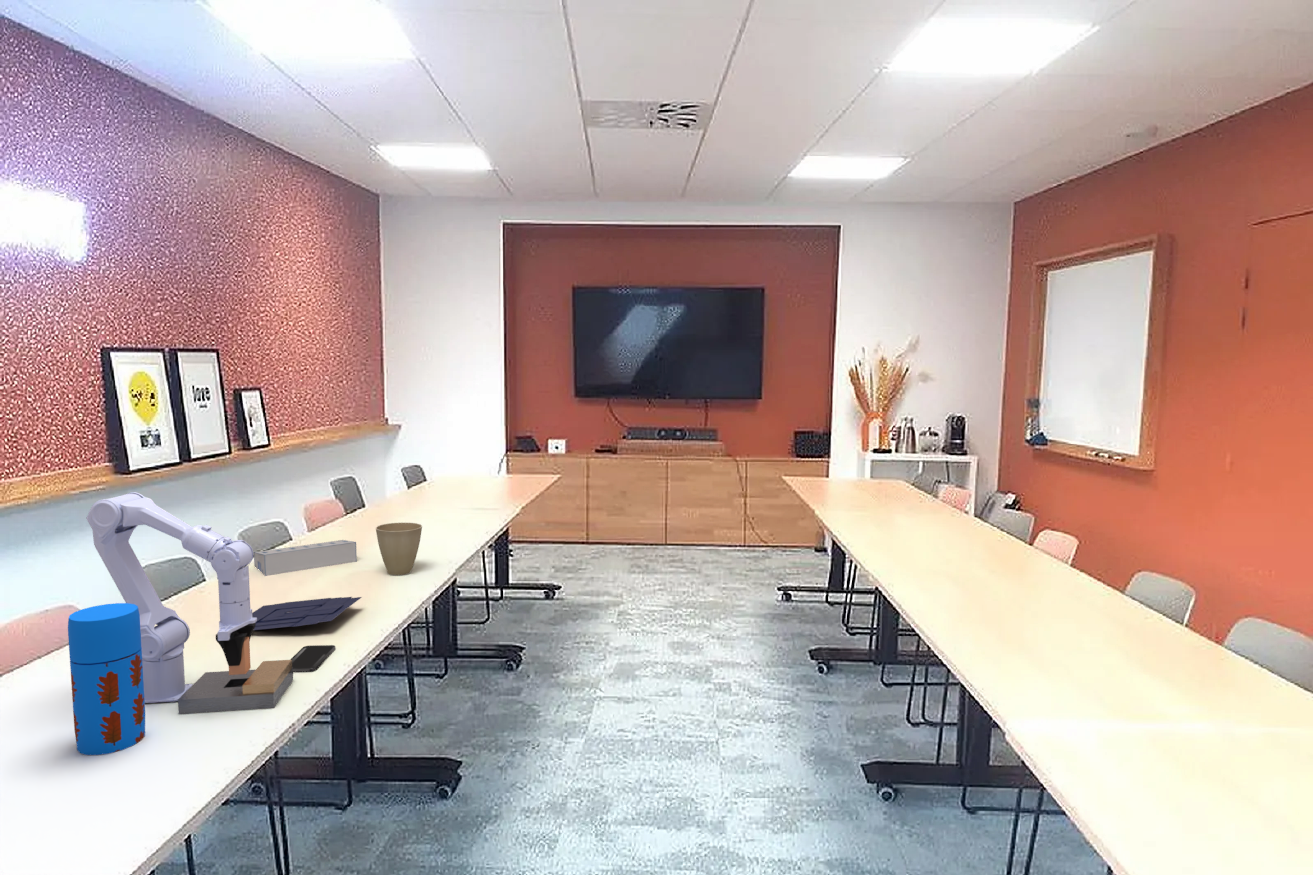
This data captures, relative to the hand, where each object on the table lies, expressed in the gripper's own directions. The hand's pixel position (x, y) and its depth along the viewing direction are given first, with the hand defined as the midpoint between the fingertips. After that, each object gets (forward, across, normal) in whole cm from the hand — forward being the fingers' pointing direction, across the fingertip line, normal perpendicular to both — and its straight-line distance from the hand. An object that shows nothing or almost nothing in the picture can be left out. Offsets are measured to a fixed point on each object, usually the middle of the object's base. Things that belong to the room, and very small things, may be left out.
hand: (237, 661), depth 163 cm
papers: (+8, +49, +2) cm, 49 cm away
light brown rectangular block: (+2, 0, 0) cm, 2 cm away
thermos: (+8, -17, +16) cm, 25 cm away
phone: (+8, +19, -10) cm, 23 cm away
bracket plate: (+8, 0, 0) cm, 8 cm away
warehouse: (+8, +111, +14) cm, 112 cm away
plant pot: (+8, +95, -20) cm, 97 cm away
